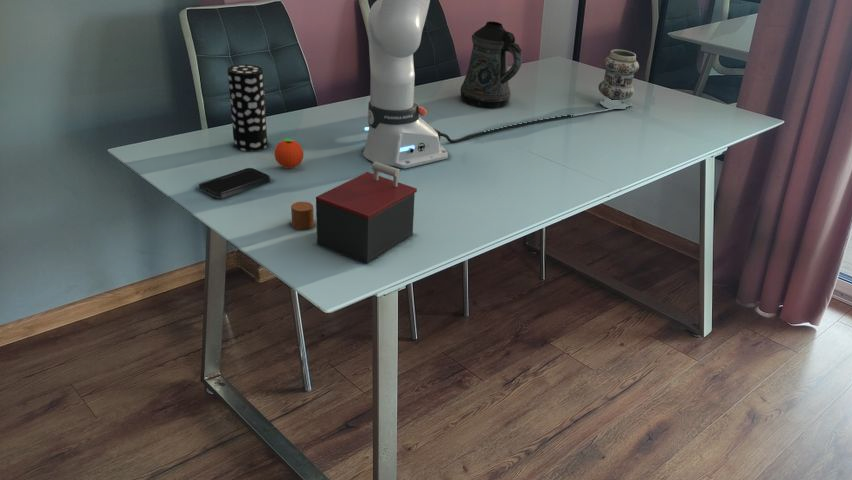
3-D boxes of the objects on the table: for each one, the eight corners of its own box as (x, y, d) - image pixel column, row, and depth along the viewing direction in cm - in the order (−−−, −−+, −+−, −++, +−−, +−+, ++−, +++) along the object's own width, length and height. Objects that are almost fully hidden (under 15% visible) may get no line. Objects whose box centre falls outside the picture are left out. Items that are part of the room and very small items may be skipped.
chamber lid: (367, 175, 165) (367, 154, 163) (416, 191, 160) (417, 170, 158) (315, 200, 152) (315, 178, 150) (368, 219, 147) (368, 197, 145)
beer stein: (464, 89, 257) (470, 13, 244) (521, 98, 256) (530, 21, 243) (455, 104, 243) (461, 24, 230) (515, 113, 241) (524, 33, 229)
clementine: (272, 161, 191) (270, 134, 187) (300, 159, 194) (299, 132, 190) (277, 173, 185) (276, 146, 181) (306, 171, 187) (305, 144, 184)
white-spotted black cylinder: (258, 153, 194) (252, 76, 184) (228, 148, 195) (221, 70, 185) (273, 142, 201) (268, 67, 191) (243, 137, 202) (237, 62, 192)
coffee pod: (309, 218, 167) (309, 200, 164) (316, 227, 163) (316, 209, 161) (289, 221, 164) (288, 203, 162) (295, 231, 161) (295, 212, 159)
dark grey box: (364, 217, 170) (365, 176, 164) (412, 235, 165) (414, 193, 160) (317, 244, 157) (315, 200, 152) (367, 264, 152) (368, 219, 147)
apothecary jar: (633, 113, 254) (643, 59, 244) (597, 109, 253) (606, 55, 244) (628, 101, 264) (638, 49, 255) (594, 98, 264) (603, 46, 254)
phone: (272, 176, 180) (218, 195, 169) (272, 181, 180) (218, 199, 170) (250, 166, 183) (196, 184, 173) (250, 171, 184) (196, 188, 173)
